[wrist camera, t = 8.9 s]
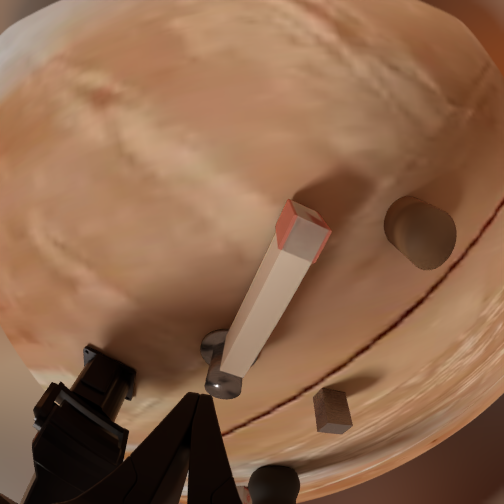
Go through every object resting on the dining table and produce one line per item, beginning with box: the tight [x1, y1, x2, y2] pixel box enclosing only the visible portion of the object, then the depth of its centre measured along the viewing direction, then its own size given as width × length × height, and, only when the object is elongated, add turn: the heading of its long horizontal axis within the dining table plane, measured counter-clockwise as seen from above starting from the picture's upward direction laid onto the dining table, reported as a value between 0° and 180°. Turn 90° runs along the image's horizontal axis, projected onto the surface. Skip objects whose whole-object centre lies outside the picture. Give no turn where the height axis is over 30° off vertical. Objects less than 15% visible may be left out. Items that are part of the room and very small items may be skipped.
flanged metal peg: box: [201, 329, 257, 399], centre depth 21 cm, size 5×5×4 cm
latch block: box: [313, 388, 353, 434], centre depth 23 cm, size 2×3×4 cm, turn 68°
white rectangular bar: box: [220, 199, 332, 378], centre depth 18 cm, size 12×2×4 cm, turn 158°
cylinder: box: [384, 197, 456, 270], centre depth 16 cm, size 4×4×4 cm
